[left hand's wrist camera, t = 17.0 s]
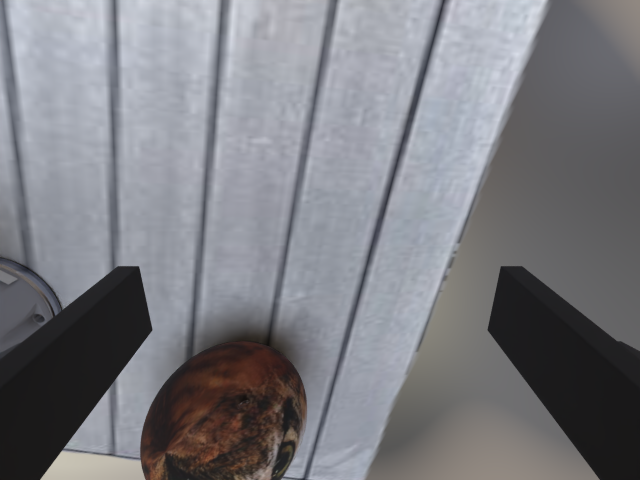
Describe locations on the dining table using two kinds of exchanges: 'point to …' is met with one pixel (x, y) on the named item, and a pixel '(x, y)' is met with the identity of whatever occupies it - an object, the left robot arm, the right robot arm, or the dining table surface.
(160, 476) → the cat face balloon
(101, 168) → the dining table surface
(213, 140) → the dining table surface
